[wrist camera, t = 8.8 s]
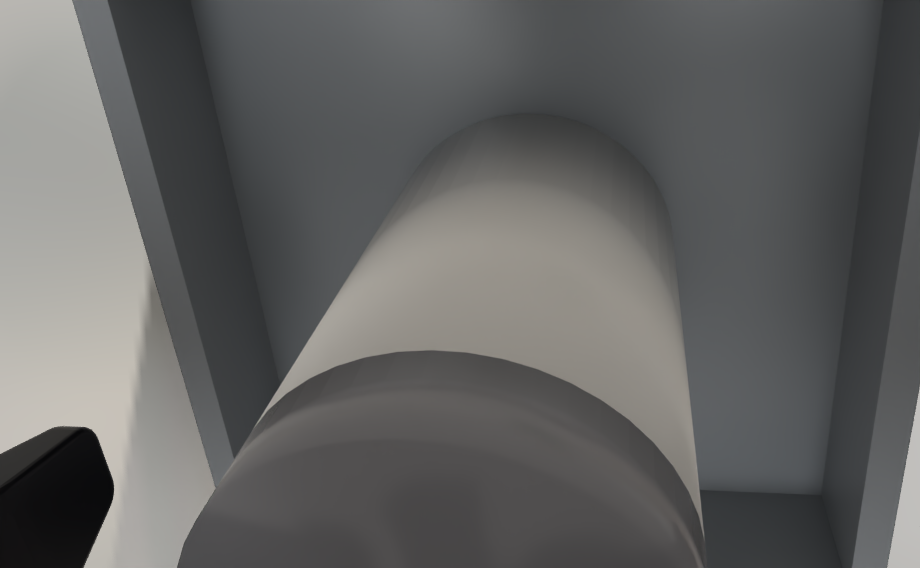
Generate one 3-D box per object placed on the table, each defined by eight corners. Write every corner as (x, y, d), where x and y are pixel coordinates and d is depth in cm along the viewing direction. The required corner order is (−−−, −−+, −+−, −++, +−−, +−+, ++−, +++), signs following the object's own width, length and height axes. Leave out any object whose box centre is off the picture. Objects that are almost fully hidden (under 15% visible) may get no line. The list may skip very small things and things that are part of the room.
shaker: (671, 367, 15) (707, 850, 8) (413, 364, 16) (239, 794, 9) (675, 106, 13) (731, 450, 6) (377, 120, 14) (110, 430, 7)
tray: (838, 487, 16) (879, 614, 14) (295, 466, 18) (239, 571, 16) (926, -160, 11) (1017, -156, 9) (165, -84, 13) (54, -63, 11)
